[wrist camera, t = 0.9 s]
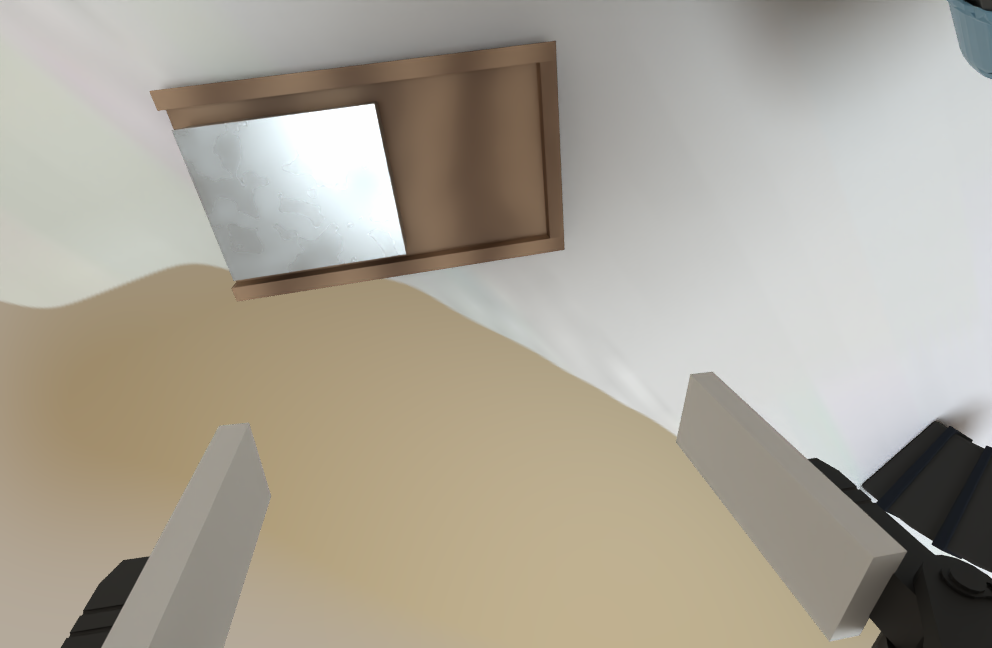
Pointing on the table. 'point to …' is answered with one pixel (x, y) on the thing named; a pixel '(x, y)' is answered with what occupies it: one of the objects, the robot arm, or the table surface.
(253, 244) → the cover plate
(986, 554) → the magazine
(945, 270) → the table surface
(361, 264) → the brown wooden tray
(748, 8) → the table surface
